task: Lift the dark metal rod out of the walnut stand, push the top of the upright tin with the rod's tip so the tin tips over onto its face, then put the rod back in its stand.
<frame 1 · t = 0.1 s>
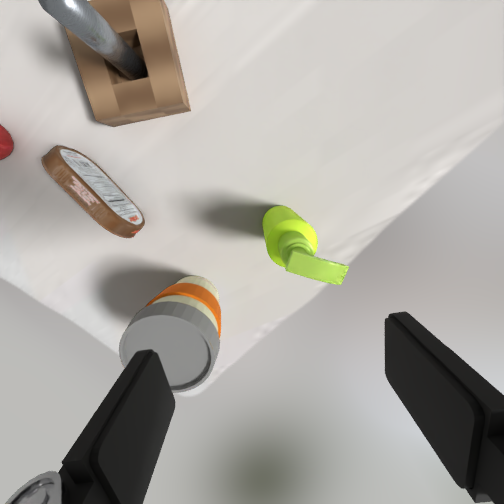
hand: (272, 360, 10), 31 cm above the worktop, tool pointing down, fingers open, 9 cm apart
onion: (10, 142, 36), on the worktop
soap dispenser: (282, 223, 39), on the worktop
metal rod: (136, 69, 32), point 1 cm above the worktop, touching rod stand
rod stand: (138, 71, 33), on the worktop
reusable coffee cup: (195, 297, 44), on the worktop
tin: (116, 191, 38), on the worktop
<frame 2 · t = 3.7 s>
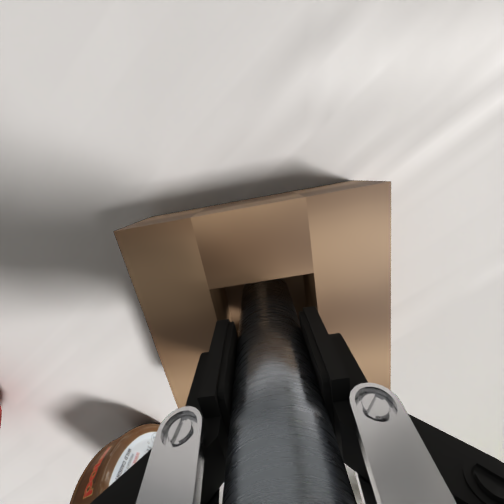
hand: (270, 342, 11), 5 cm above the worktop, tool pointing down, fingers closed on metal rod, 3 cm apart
metal rod: (265, 294, 15), point 1 cm above the worktop, touching gripper, rod stand
rod stand: (265, 289, 16), on the worktop
tin: (192, 453, 21), on the worktop
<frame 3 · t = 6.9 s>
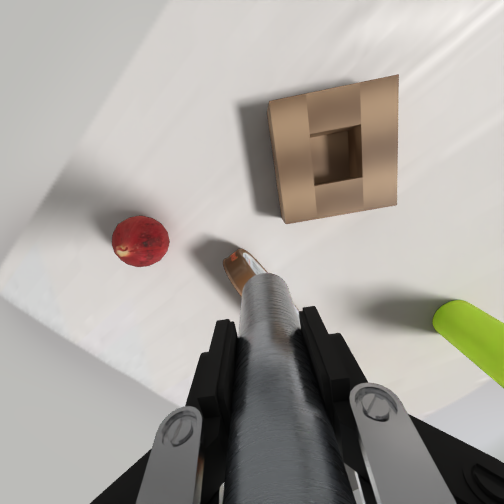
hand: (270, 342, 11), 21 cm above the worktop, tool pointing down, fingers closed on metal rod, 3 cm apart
onion: (155, 233, 31), on the worktop
soap dispenser: (455, 318, 34), on the worktop
metal rod: (265, 294, 15), point 16 cm above the worktop, touching gripper
rod stand: (325, 159, 27), on the worktop
tin: (268, 284, 33), on the worktop
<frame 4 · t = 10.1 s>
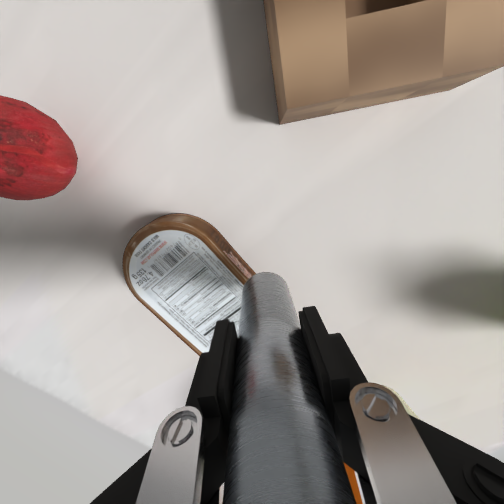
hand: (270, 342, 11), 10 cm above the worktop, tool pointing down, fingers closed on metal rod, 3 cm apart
onion: (65, 156, 18), on the worktop
metal rod: (265, 293, 15), point 6 cm above the worktop, touching gripper
rod stand: (359, 1, 15), on the worktop
reusable coffee cup: (362, 413, 26), on the worktop
tin: (245, 266, 19), point 2 cm above the worktop
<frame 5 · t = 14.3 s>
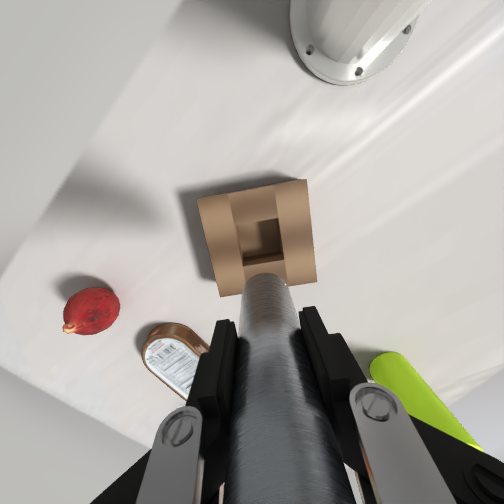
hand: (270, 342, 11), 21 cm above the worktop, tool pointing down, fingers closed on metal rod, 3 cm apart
onion: (111, 295, 34), on the worktop
soap dispenser: (390, 366, 37), on the worktop
metal rod: (265, 294, 15), point 16 cm above the worktop, touching gripper
rod stand: (259, 234, 31), on the worktop
tin: (207, 352, 34), point 2 cm above the worktop
when the fingers open (7 cm above the worktop, at t = 17.8 s): metal rod drops 1 cm, resting on rod stand.
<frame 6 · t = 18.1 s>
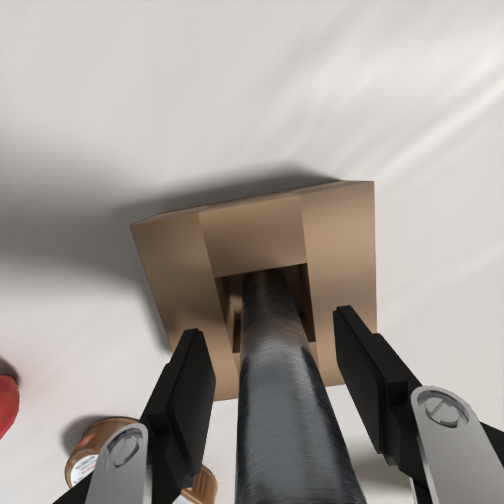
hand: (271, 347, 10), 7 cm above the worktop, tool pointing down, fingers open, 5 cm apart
onion: (13, 376, 20), on the worktop
metal rod: (264, 284, 16), point 1 cm above the worktop, touching rod stand
rod stand: (264, 281, 17), on the worktop
tin: (178, 468, 21), point 2 cm above the worktop
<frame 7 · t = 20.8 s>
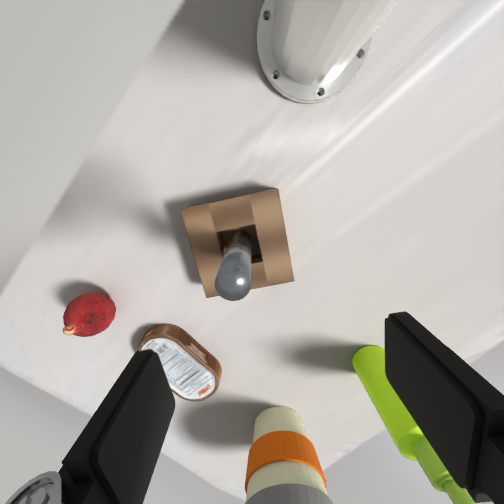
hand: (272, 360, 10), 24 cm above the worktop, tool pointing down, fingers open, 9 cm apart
onion: (107, 300, 36), on the worktop
soap dispenser: (371, 359, 39), on the worktop
metal rod: (240, 240, 33), point 1 cm above the worktop, touching rod stand
rod stand: (241, 239, 33), on the worktop
reusable coffee cup: (278, 423, 44), on the worktop
tin: (198, 350, 37), point 2 cm above the worktop
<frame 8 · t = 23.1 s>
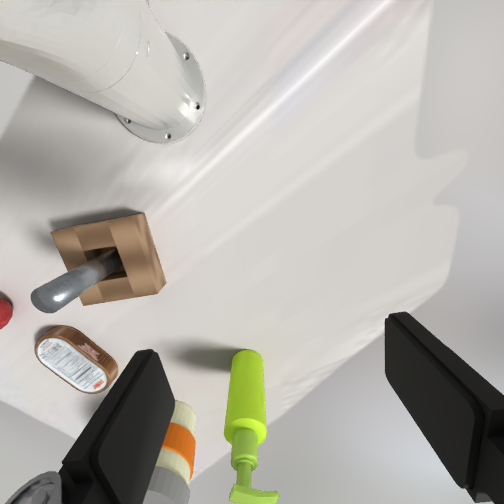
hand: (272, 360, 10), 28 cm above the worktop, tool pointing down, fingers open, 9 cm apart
onion: (10, 303, 41), on the worktop
soap dispenser: (250, 362, 45), on the worktop
metal rod: (118, 256, 38), point 1 cm above the worktop, touching rod stand
rod stand: (120, 255, 38), on the worktop
reusable coffee cup: (175, 415, 49), on the worktop
tin: (91, 349, 42), point 2 cm above the worktop
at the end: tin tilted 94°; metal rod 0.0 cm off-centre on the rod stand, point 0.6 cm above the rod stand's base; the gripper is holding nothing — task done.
